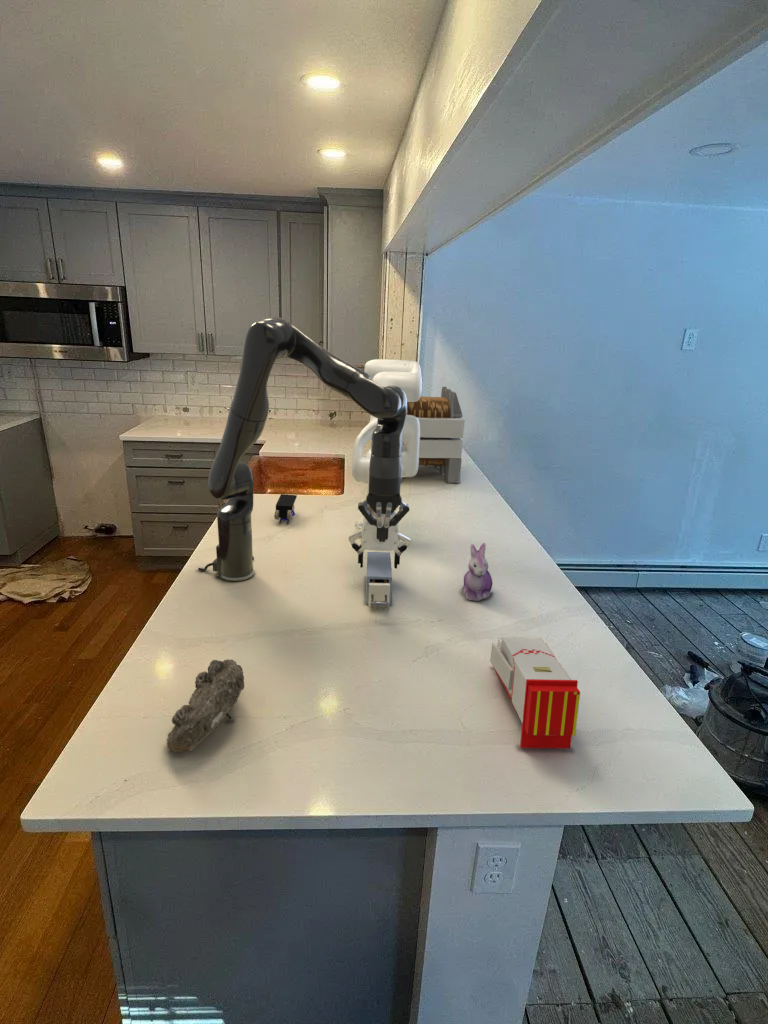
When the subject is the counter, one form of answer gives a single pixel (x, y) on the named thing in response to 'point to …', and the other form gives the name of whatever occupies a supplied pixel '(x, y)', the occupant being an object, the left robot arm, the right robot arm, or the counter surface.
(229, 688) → the fossil
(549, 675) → the toy
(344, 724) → the counter surface
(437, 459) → the transformer
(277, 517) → the figurine character
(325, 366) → the left robot arm
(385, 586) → the drawer
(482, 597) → the figurine
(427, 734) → the counter surface
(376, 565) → the blue-grey slab
